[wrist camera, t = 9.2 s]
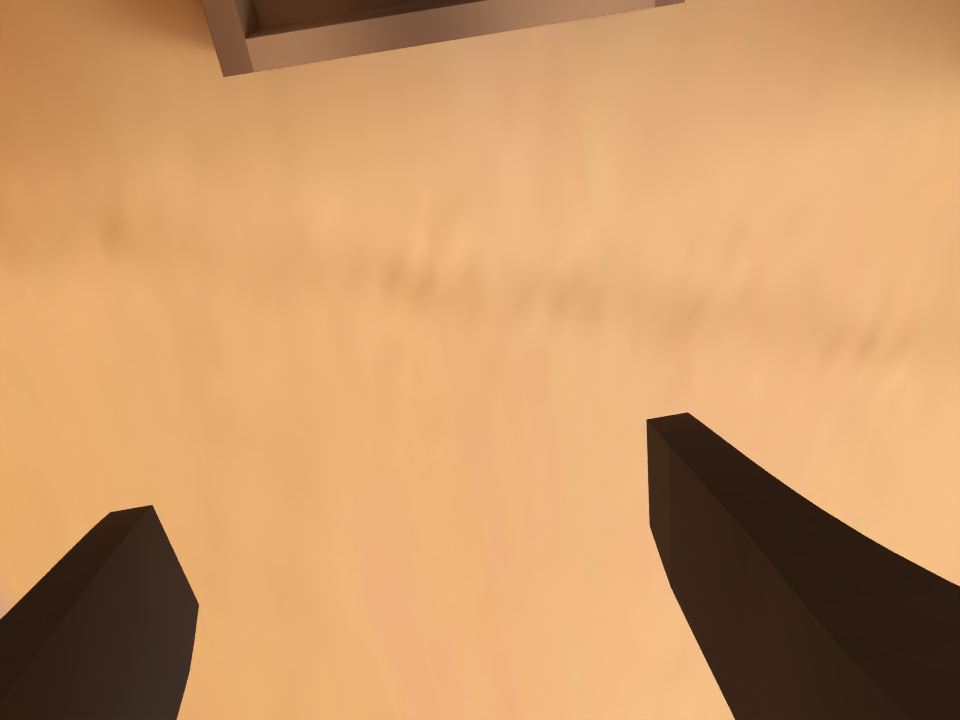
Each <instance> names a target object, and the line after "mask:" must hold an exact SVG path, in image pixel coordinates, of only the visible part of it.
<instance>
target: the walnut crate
mask: <svg viewBox="0 0 960 720" xmlns="http://www.w3.org/2000/svg"><path fill="white" fill-rule="evenodd" d="M201 2H202V5H203V8H204V12H205V15H206V19H207V22H208V25H209V29H210V32H211V36H212V39H213V42H214V46H215V49H216V53H217V56H218V60H219V63H220V66H221V70H222V73H223V77H227V76H233V75H239V74H245V73H251V72H258V71H264V70H270V69H276V68H282V67H288V66H295V65H301V64H307V63H313V62H319V61H326V60H332V59H338V58H344V57H350V56H356V55H363V54H369V53H375V52H381V51H387V50H394V49H400V48H406V47H412V46H418V45H424V44H431V43H437V42H443V41H449V40H455V39H462V38H468V37H474V36H480V35H486V34H492V33H499V32H505V31H511V30H517V29H523V28H530V27H536V26H542V25H548V24H554V23H560V22H567V21H573V20H579V19H585V18H591V17H597V16H604V15H610V14H616V13H622V12H628V11H635V10H641V9H647V8H653V7H659V6H665V5H672V4H678V3H684V2H685V0H201Z"/></svg>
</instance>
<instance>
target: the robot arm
mask: <svg viewBox="0 0 960 720" xmlns="http://www.w3.org/2000/svg"><path fill="white" fill-rule="evenodd" d="M647 451H648V485H649V518H650V528H651V531H652V534H653V537H654V540H655V543H656V546H657V549H658V552H659V555H660V558H661V560H662V563H663V566H664V569H665V572H666V575H667V577H668V580H669V583H670V586H671V588H672V590H673V592H674V595H675V597H676V599H677V601H678V603H679V605H680V607H681V609H682V611H683V613H684V615H685V618H686V620H687V622H688V624H689V626H690V628H691V630H692V632H693V634H694V636H695V638H696V640H697V642H698V644H699V646H700V649H701V651H702V653H703V655H704V657H705V659H706V661H707V663H708V665H709V667H710V669H711V671H712V673H713V675H714V677H715V679H716V681H717V683H718V685H719V687H720V689H721V691H722V694H723V696H724V698H725V700H726V702H727V704H728V706H729V708H730V710H731V712H732V714H733V716H734V718H735V720H960V586H958V585H956V584H954V583H951V582H949V581H947V580H945V579H943V578H942V577H940V576H938V575H936V574H934V573H932V572H930V571H928V570H926V569H925V568H923V567H921V566H919V565H917V564H915V563H913V562H911V561H909V560H907V559H906V558H904V557H902V556H900V555H898V554H896V553H894V552H892V551H891V550H889V549H887V548H885V547H884V546H882V545H880V544H878V543H876V542H875V541H873V540H871V539H870V538H868V537H866V536H864V535H863V534H861V533H860V532H858V531H856V530H855V529H853V528H851V527H850V526H848V525H847V524H845V523H843V522H842V521H840V520H838V519H837V518H835V517H834V516H832V515H830V514H829V513H827V512H826V511H824V510H822V509H821V508H819V507H818V506H816V505H815V504H813V503H812V502H810V501H809V500H807V499H806V498H804V497H803V496H801V495H800V494H798V493H797V492H795V491H794V490H792V489H791V488H790V487H788V486H787V485H785V484H784V483H782V482H781V481H780V480H778V479H777V478H775V477H774V476H772V475H771V474H770V473H768V472H767V471H765V470H764V469H763V468H761V467H760V466H759V465H757V464H756V463H754V462H753V461H752V460H750V459H749V458H748V457H746V456H745V455H744V454H742V453H741V452H740V451H738V450H737V449H736V448H734V447H733V446H732V445H730V444H729V443H728V442H726V441H725V440H724V439H723V438H721V437H720V436H719V435H717V434H716V433H715V432H713V431H712V430H711V429H709V428H708V427H707V426H705V425H704V424H703V423H701V422H700V421H699V420H697V419H696V418H695V417H693V416H692V415H691V414H689V413H682V414H676V415H670V416H664V417H659V418H653V419H647ZM198 608H199V604H198V602H197V599H196V597H195V595H194V593H193V591H192V589H191V587H190V584H189V582H188V580H187V578H186V576H185V574H184V572H183V569H182V567H181V565H180V563H179V561H178V559H177V557H176V554H175V552H174V550H173V548H172V546H171V544H170V542H169V540H168V537H167V535H166V533H165V531H164V529H163V527H162V525H161V522H160V520H159V518H158V516H157V514H156V512H155V510H154V507H153V505H150V506H144V507H138V508H132V509H127V510H121V511H115V512H110V513H109V514H108V515H107V516H105V517H104V518H103V519H102V520H101V521H100V522H99V523H98V524H97V525H95V526H94V527H93V528H92V529H91V530H90V531H89V532H88V533H87V534H86V535H85V536H84V537H83V538H82V539H81V540H80V541H79V542H78V543H77V544H76V545H75V546H74V547H73V548H72V549H71V550H70V551H69V552H68V553H67V554H66V555H65V556H64V557H63V558H62V559H61V560H60V561H59V562H58V563H57V564H56V565H55V566H54V567H53V568H52V569H51V570H50V571H49V572H48V573H47V574H46V575H45V576H44V577H43V578H42V579H41V580H40V581H39V582H38V583H37V584H36V585H35V586H34V587H33V588H32V589H31V590H30V591H29V592H28V593H27V594H26V595H25V596H24V597H23V598H22V599H21V600H20V601H19V602H18V603H17V604H16V605H15V606H14V607H13V608H12V609H11V610H10V611H9V612H8V613H7V614H6V615H5V616H4V617H2V618H1V619H0V720H176V719H177V716H178V712H179V709H180V705H181V701H182V698H183V694H184V691H185V687H186V683H187V679H188V675H189V671H190V665H191V659H192V652H193V646H194V640H195V632H196V624H197V616H198Z"/></svg>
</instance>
